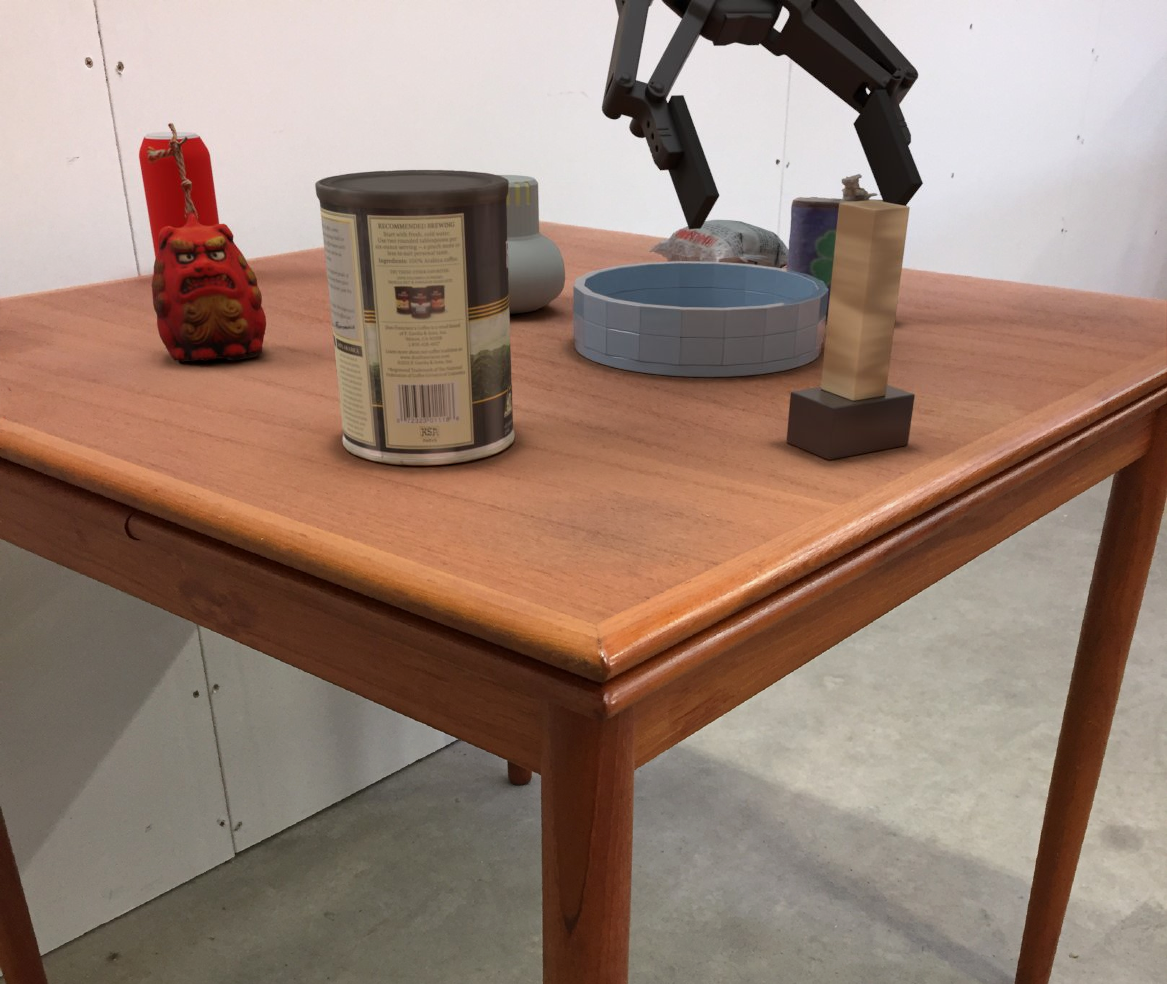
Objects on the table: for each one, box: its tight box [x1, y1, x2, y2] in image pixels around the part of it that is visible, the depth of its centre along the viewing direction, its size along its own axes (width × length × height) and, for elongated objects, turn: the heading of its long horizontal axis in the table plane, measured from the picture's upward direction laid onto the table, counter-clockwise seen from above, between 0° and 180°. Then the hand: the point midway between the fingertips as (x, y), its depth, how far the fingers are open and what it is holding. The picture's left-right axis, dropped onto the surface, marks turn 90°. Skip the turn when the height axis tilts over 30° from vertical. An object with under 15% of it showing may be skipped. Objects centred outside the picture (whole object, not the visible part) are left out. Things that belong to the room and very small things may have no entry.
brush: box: [785, 200, 916, 461], centre depth 71 cm, size 6×4×13 cm, turn 120°
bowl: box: [572, 261, 829, 378], centre depth 94 cm, size 19×19×4 cm
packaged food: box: [648, 219, 789, 269], centre depth 118 cm, size 9×12×5 cm
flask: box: [785, 173, 908, 321], centre depth 102 cm, size 9×3×11 cm, turn 71°
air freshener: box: [498, 174, 566, 315], centre depth 104 cm, size 11×8×10 cm
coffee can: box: [314, 169, 516, 466], centre depth 71 cm, size 10×10×14 cm
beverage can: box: [138, 131, 220, 258], centre depth 115 cm, size 6×6×12 cm
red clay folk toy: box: [147, 122, 267, 363], centre depth 89 cm, size 8×7×15 cm
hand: (808, 206), depth 72 cm, fingers open, 13 cm apart
